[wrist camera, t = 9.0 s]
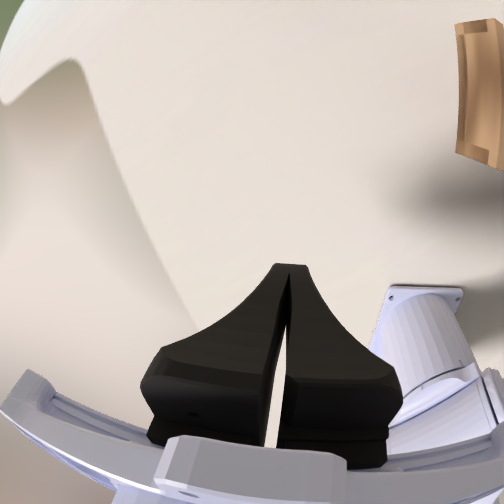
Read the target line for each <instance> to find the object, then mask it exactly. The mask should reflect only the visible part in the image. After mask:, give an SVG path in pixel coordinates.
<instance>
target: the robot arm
mask: <svg viewBox="0 0 504 504" xmlns="http://www.w3.org/2000/svg"><path fill="white" fill-rule="evenodd" d="M463 294H464V291H463V290H462V288H439V287H408V286H391V287H389V288H388V289H387V292H386V295H385V299H384V302H383V306H382V309H381V312H380V315H379V318H378V322H377V325H376V328H375V331H374V333H373V336H372V339H371V342H370V345H369V348H368V349H367V348H366V347H365V346H363V345H362V344H361V343H360V342H359V341H357V340H356V339H355V338H354V337H353V336H352V335H351V334H350V333H349V332H348V331H347V330H346V329H345V328H344V327H343V326H342V324H341V323H340V322H339V321H338V320H337V318H336V317H335V316H334V315H333V313H332V312H331V311H330V309H329V308H328V306H327V305H326V303H325V302H324V300H323V298H322V297H321V295H320V293H319V291H318V290H317V288H316V286H315V284H314V282H313V280H312V278H311V275H310V273H309V270H308V267H307V266H306V265H297V264H281V263H275V264H274V265H273V266H272V268H271V269H270V271H269V272H268V274H267V275H266V276H265V278H264V279H263V280H262V281H261V283H260V284H259V285H258V286H257V287H256V289H255V290H254V291H253V292H252V293H251V294H250V295H249V296H248V297H247V298H246V299H245V300H244V301H243V302H242V303H241V304H240V305H238V306H237V307H236V308H235V309H234V310H232V311H231V312H230V313H229V314H227V315H226V316H225V317H223V318H222V319H220V320H219V321H217V322H216V323H214V324H213V325H211V326H209V327H207V328H206V329H204V330H202V331H200V332H198V333H196V334H194V335H192V336H190V337H188V338H185V339H183V340H180V341H177V342H175V343H172V344H169V345H167V346H164V347H162V348H161V349H160V350H159V352H158V353H157V355H156V356H155V357H154V359H153V361H152V362H151V364H150V366H149V367H148V370H147V371H146V373H145V375H144V377H143V379H142V381H141V384H140V389H141V392H142V394H143V397H144V398H145V400H146V402H147V404H148V405H149V407H150V408H151V410H152V412H153V414H154V418H153V420H152V422H151V425H150V427H149V429H148V430H147V429H144V428H141V427H138V426H134V425H132V424H129V423H126V422H124V421H121V420H118V419H116V418H113V417H110V416H108V415H105V414H103V413H101V412H98V411H96V410H94V409H91V408H89V407H87V406H85V405H82V404H80V403H78V402H76V401H74V400H71V399H70V398H68V397H66V396H64V395H62V394H60V393H58V392H56V390H55V388H54V387H53V386H52V384H51V383H50V382H49V381H48V380H47V379H46V378H44V377H43V376H41V375H39V374H37V373H36V372H34V371H32V370H30V369H27V370H26V371H25V373H24V374H23V375H22V376H21V378H20V379H19V381H18V382H17V383H16V385H15V386H14V388H13V389H12V390H11V392H10V393H9V395H8V396H7V398H6V399H5V400H4V402H3V403H2V405H1V406H0V412H1V413H2V414H3V415H4V416H5V417H6V418H7V419H8V420H9V421H10V422H11V423H12V424H13V425H14V426H15V427H16V428H18V429H19V430H20V431H21V432H22V433H23V434H24V435H25V436H26V437H28V438H29V439H30V440H31V441H32V442H33V443H35V444H36V445H38V446H39V447H40V448H42V449H43V450H45V451H46V452H48V453H49V454H51V455H52V456H54V457H55V458H57V459H58V460H60V461H61V462H63V463H64V464H66V465H68V466H69V467H71V468H72V469H74V470H76V471H77V472H79V473H81V474H83V475H84V476H86V477H88V478H90V479H92V480H93V481H95V482H97V483H99V484H101V485H103V486H105V487H107V488H109V489H111V490H113V491H115V492H116V494H115V497H114V499H113V502H112V504H499V498H498V496H499V495H500V494H501V493H502V491H503V490H504V382H503V380H502V377H501V375H500V373H499V371H498V370H495V369H492V370H491V368H489V367H488V368H487V369H485V370H484V371H483V372H481V370H480V369H479V366H478V364H477V362H476V359H475V357H474V355H473V352H472V350H471V348H470V346H469V344H468V341H467V339H466V337H465V335H464V333H463V331H462V329H461V327H460V325H459V323H458V321H457V319H456V317H455V313H456V311H457V308H458V306H459V304H460V302H461V299H462V297H463ZM390 296H393V297H392V298H389V297H390ZM457 297H458V298H457ZM456 298H457V299H456ZM285 327H286V375H285V384H284V393H283V401H282V409H281V417H280V424H279V431H278V438H277V446H276V448H267V447H264V444H265V437H266V431H267V424H268V418H269V411H270V404H271V397H272V390H273V383H274V376H275V371H276V366H277V362H278V357H279V353H280V349H281V345H282V340H283V336H284V331H285ZM388 425H389V426H388Z"/></svg>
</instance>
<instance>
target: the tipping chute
mask: <svg viewBox="0 0 504 504" xmlns="http://www.w3.org/2000/svg"><path fill="white" fill-rule="evenodd" d="M455 31H456V40H457V51H458V68H459V113H458V131H457V142H456V152H455V153H458V154H460V155H463V156H466V157H468V158H471V159H474V160H476V161H479V162H481V163H483V164H486V165H488V166H491V167H493V168H495V169H499V170H503V171H504V28H503V24H501V23H500V22H499V21H497V20H496V19H494V18H492V19H484V20H476V21H470V22H464V23H458V24H455Z"/></svg>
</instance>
